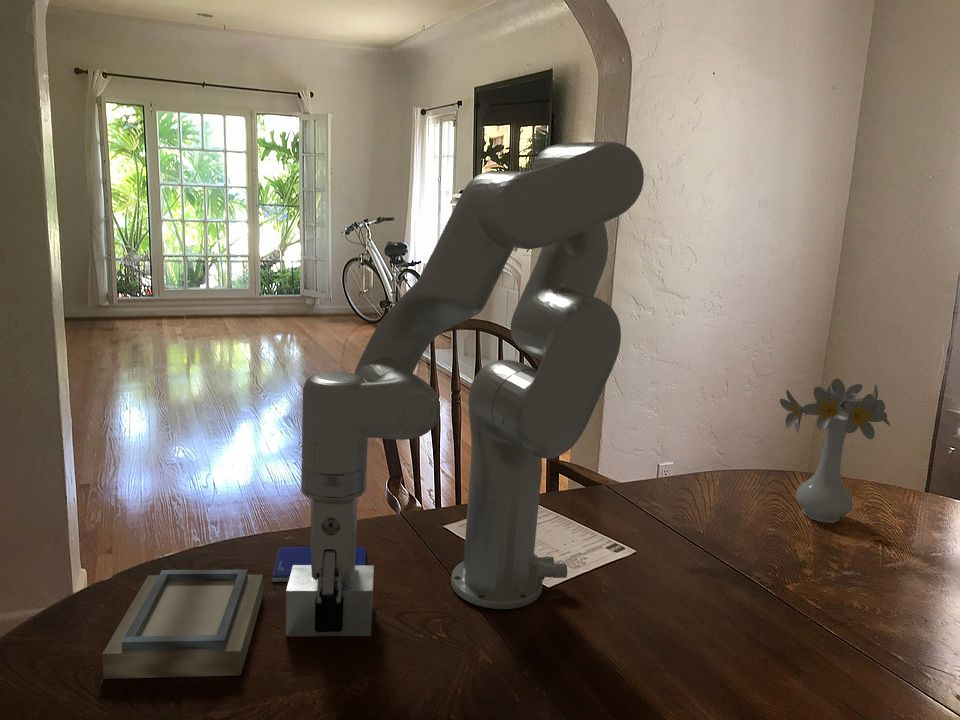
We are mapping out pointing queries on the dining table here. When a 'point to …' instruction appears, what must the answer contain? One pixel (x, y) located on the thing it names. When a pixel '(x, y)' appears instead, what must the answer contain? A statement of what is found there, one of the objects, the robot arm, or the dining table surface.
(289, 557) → the hard drive
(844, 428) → the flower vase
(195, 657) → the stand
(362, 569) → the block
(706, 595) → the dining table surface
